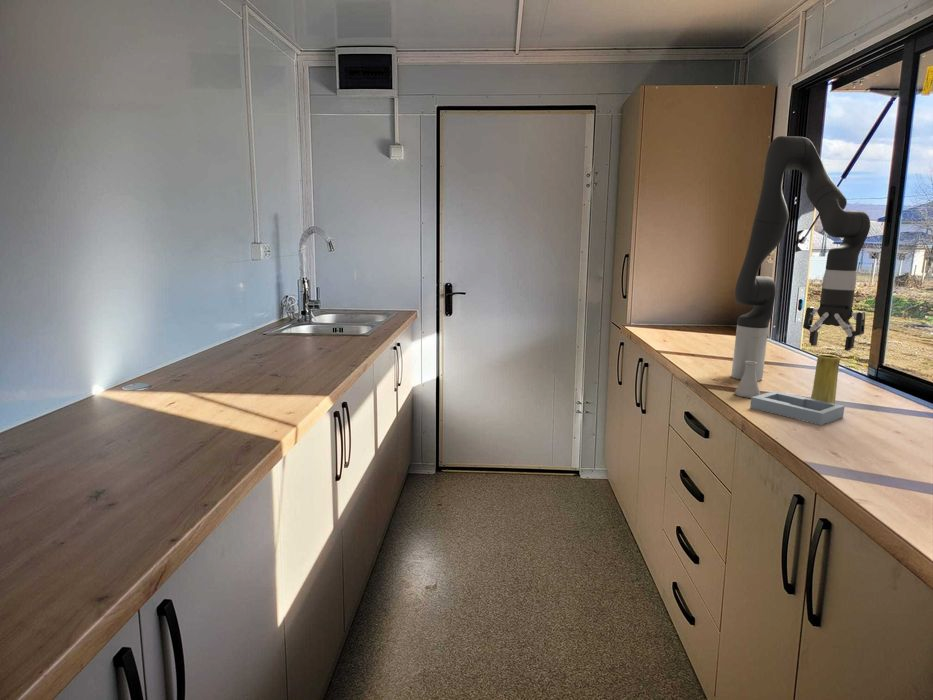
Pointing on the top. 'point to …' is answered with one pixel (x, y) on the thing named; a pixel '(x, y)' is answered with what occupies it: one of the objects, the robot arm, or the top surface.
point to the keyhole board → (797, 407)
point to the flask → (748, 382)
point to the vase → (826, 378)
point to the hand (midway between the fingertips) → (830, 347)
